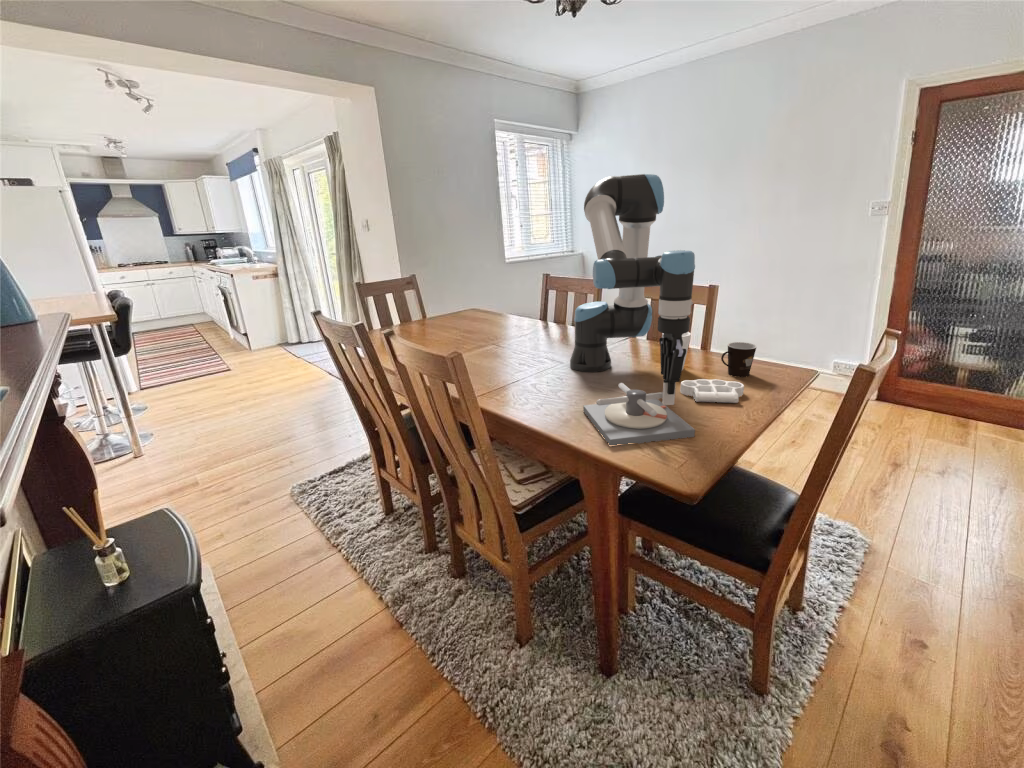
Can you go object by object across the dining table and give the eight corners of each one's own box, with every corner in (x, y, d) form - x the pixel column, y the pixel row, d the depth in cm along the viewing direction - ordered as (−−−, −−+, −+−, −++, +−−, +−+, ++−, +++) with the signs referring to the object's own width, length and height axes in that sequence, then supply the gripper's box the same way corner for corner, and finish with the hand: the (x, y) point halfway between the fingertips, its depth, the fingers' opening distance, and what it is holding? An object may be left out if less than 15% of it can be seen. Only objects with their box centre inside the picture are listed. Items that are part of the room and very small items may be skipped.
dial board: (583, 411, 132) (583, 404, 131) (655, 403, 135) (655, 396, 134) (609, 446, 112) (610, 438, 111) (694, 436, 114) (695, 428, 113)
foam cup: (693, 369, 162) (696, 333, 157) (676, 374, 157) (679, 338, 153) (670, 363, 169) (673, 328, 165) (654, 368, 165) (656, 333, 160)
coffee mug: (746, 369, 158) (750, 341, 155) (756, 378, 150) (761, 348, 147) (711, 370, 160) (714, 342, 156) (720, 378, 152) (723, 349, 148)
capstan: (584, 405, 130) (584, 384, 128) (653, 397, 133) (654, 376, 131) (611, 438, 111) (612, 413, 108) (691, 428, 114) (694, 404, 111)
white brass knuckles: (683, 404, 135) (678, 386, 148) (750, 406, 131) (738, 388, 144) (684, 393, 134) (678, 376, 147) (751, 395, 130) (739, 378, 143)
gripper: (699, 320, 107) (691, 412, 115) (679, 310, 119) (673, 394, 127) (667, 322, 107) (661, 414, 115) (651, 311, 119) (646, 395, 127)
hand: (668, 403), depth 121 cm, fingers closed
